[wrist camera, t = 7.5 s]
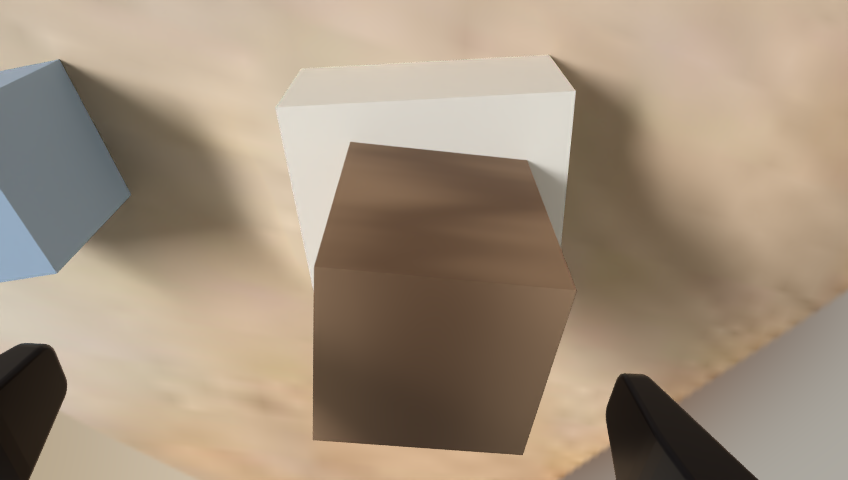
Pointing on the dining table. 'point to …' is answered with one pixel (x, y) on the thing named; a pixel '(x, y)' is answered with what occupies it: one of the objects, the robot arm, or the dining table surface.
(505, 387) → the walnut cube
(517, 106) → the pedestal block
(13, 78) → the slate-blue cube
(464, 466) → the dining table surface
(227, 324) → the dining table surface
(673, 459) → the robot arm
